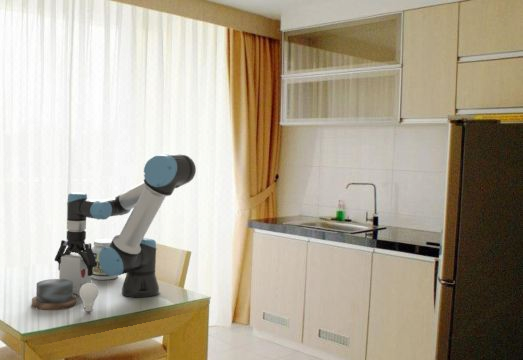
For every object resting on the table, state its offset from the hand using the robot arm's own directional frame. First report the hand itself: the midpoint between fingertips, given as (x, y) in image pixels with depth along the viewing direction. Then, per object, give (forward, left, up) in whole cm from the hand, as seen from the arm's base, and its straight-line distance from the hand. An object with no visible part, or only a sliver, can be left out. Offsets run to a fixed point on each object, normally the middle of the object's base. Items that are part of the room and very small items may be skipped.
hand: (75, 280), depth 237 cm
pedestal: (-6, +18, -4) cm, 19 cm away
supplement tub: (+5, -25, -4) cm, 26 cm away
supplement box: (0, 0, -4) cm, 4 cm away
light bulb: (-24, +20, -4) cm, 32 cm away
